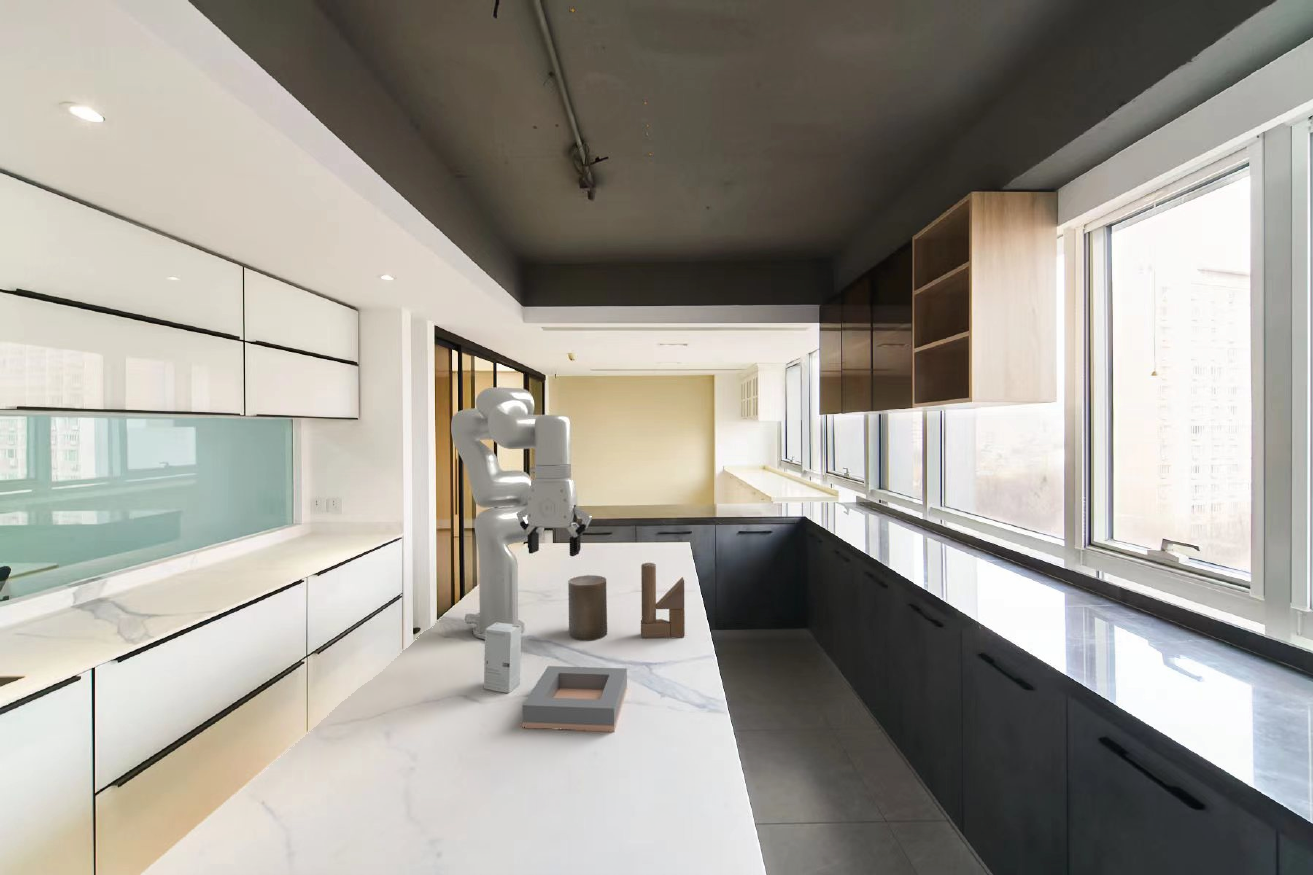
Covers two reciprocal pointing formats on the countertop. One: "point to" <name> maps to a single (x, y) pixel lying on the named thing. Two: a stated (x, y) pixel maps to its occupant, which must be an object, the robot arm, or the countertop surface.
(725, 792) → the countertop surface
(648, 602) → the wooden block
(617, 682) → the gray square frame
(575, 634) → the pillar candle
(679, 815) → the countertop surface
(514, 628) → the skincare box
